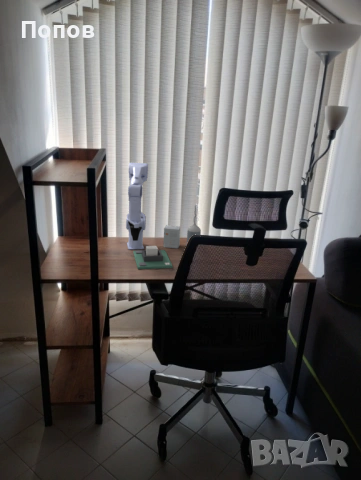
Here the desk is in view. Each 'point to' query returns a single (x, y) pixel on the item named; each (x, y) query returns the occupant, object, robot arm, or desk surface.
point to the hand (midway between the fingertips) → (134, 237)
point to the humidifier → (193, 228)
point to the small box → (171, 236)
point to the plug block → (151, 251)
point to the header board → (152, 260)
